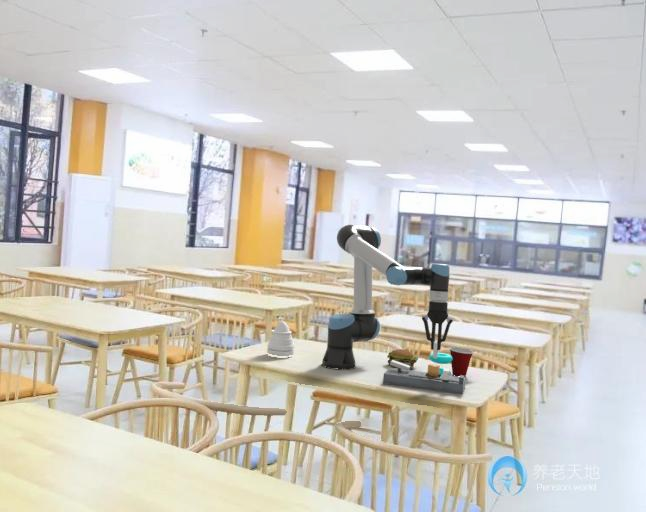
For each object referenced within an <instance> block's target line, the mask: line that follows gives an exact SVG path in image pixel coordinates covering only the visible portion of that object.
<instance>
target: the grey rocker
mask: <svg viewBox="0 0 646 512" xmlns="http://www.w3.org/2000/svg"><path fill="white" fill-rule="evenodd" d="M390 365H392V366H395V367H398V368H401V369H404V370H407V371H409V370H410V369H411V368H410V366H409V365H406V364H403V363H400V362H398V361H395V360H392V361H391V363H390ZM398 368H397V369H398Z"/></svg>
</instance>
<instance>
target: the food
mask: <svg viewBox="0 0 646 512" xmlns="http://www.w3.org/2000/svg"><path fill="white" fill-rule="evenodd" d="M386 358H387V359H388V360H387V363H388V365H389V367H390V368H394V367H395V366H392V365H390V363H391V361H392V360H395V361H398V362H400V363H403V364H406V365H409V366H410V369H413V368H414V365H415V363H417V361H418V359H419V357H418V356H414V354H413V353H412V352H411V351H410V350H408V349H401V348H398V349H397V348H396V349H393V350H391V352H388V355H387V356H386ZM395 368H397V369H398V367H395Z"/></svg>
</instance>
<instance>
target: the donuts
mask: <svg viewBox="0 0 646 512" xmlns="http://www.w3.org/2000/svg"><path fill="white" fill-rule="evenodd" d="M429 360H430V361H431V362H433V363H434V364H438V365H439V364H440V365H447V364H450V363H451V361H452V360H453V358H452V356H451V354H448V353H446V352H445V353H444V352H443V353H442V352H438V355H437V359H436V358H433V352H432V353H431V354H430V355H429ZM444 369H445V367H444V368H443V367H440V370H439V374H443V370H444ZM450 375H451V376H452V371H450Z"/></svg>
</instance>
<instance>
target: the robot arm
mask: <svg viewBox="0 0 646 512" xmlns="http://www.w3.org/2000/svg"><path fill="white" fill-rule="evenodd" d="M336 241H337V244H338V247H339V248H341V249H342V250H343V251H345V253H347V254H349V255H351V256H352V257H353V309H352V310H350V313H336V314H333V315H331V316H330V317H329V319H328V324H327V327H328V328H327V343H326V345H327V346H326V350H325V353H324V355H323V358H322V361H321V365H322V364H323V365H324V366H326V367H325V368H327V367H330V368H329V369H331V368H338V369H337V370H341V369H346V370H351V369H350V368H353V369H355V368H356V358H355V354H354V349H353V347H354V343H357V342H369V341H372V340H375V338H376V337H377V336H378V335H379V334H380V330H381V323H380V321H379V318H378V317H376V311H374V310H373V303H372V302H373V269H375V270H376V271H378V273H381V274H382V275H383V276H385V278H386V281H387V282H388V284H389V285H395V286H429V302H428V312H427V314H425V315H424V316H421V320H422V321H423V324H424V332H425V336H426V340H427V341H429V342H430V350H432V353H433V358H436V359H437V355H438V353H439V351H440V350H442V349H441V344H442V343H445V341H446V340H447V337H448V333H449V331H450V327H451V324H452V323H453V321H454V319H453V318H450V316H449V314H448V306H449V305H448V300H449V284H450V276H451V274H450V265H449V264H445V263H432V264H431V267H424V266H414V265H413V266H404V265H402V264H401V263H398V262H397V261H396V260H394V259H393V258H391V257H389V256H388V255H387V254H385V253H384V252H382V251H380V250H379V248H380V247H381V243H382V238H381V234H380V232H379V230H377V228H376V227H374V226H370V225H360V224H359V225H358V224H357V225H356V224H346V225H344V226H342V227H340V229H339V230H338V232H337V235H336ZM428 320H429V321H430V322H431V333H430V326H429V323H428V322H429V321H428ZM445 321H446V322H447V324H446V326H445V328H444V332H443V335H442V331H443V330H442V329H443V324H444V323H445ZM437 324H438V325H437ZM436 325H437V326H436ZM437 327H438V328H437ZM436 329H437V330H438V331H437V341H436ZM323 365H322V366H323ZM324 366H323V367H324ZM354 367H355V368H354Z"/></svg>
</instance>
